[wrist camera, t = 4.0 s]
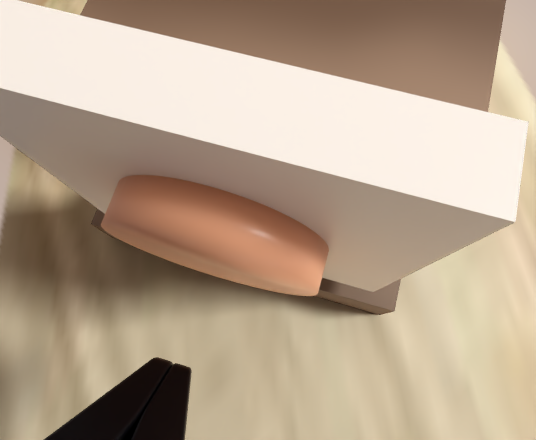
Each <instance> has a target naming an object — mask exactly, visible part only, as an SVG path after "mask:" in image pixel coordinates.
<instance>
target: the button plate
mask: <svg viewBox="0 0 536 440" xmlns="http://www.w3.org/2000/svg"><path fill="white" fill-rule="evenodd" d="M527 129H528V122H527V121H523V120H519V119H514V118H510V117H506V116H502V115H498V114H493V113H489V112H485V111H481V110H477V109H472V108H468V107H464V106H460V105H456V104H451V103H447V102H443V101H439V100H434V99H430V98H426V97H422V96H418V95H413V94H409V93H405V92H401V91H397V90H392V89H388V88H384V87H380V86H376V85H371V84H367V83H363V82H359V81H354V80H350V79H346V78H342V77H338V76H333V75H329V74H325V73H321V72H317V71H312V70H308V69H304V68H300V67H296V66H291V65H287V64H283V63H279V62H274V61H270V60H266V59H262V58H258V57H253V56H249V55H245V54H241V53H237V52H232V51H228V50H224V49H220V48H216V47H211V46H207V45H203V44H199V43H194V42H190V41H186V40H182V39H178V38H173V37H169V36H165V35H161V34H157V33H152V32H148V31H144V30H140V29H136V28H131V27H127V26H123V25H119V24H114V23H110V22H106V21H102V20H98V19H93V18H89V17H85V16H81V15H77V14H72V13H68V12H64V11H60V10H56V9H51V8H47V7H43V6H39V5H34V4H30V3H26V2H22V1H18V0H0V136H1V137H3V138H4V139H5V140H7V141H8V142H9V143H10V144H12V145H13V146H14V147H16V148H17V149H18V150H20V151H21V152H22V153H24V154H25V155H26V156H28V157H29V158H30V159H32V160H33V161H35V162H36V163H37V164H39V165H40V166H41V167H43V168H44V169H45V170H47V171H48V172H49V173H51V174H52V175H53V176H55V177H56V178H57V179H59V180H60V181H61V182H63V183H64V184H65V185H67V186H68V187H69V188H71V189H72V190H73V191H75V192H76V193H77V194H79V195H80V196H81V197H83V198H84V199H85V200H87V201H88V202H89V203H91V204H92V205H94V206H95V207H96V208H98V209H99V210H100V211H102V212H103V213H104V214H105V215H104V218H103V220H102V223H101V227H102V228H103V229H104V230H105V231H106V232H108V233H109V234H111V235H112V236H114V237H116V238H118V239H120V240H121V241H123V242H125V243H127V244H130V245H132V246H134V247H136V248H138V249H141V250H143V251H145V252H148V253H150V254H153V255H155V256H158V257H160V258H163V259H166V260H168V261H171V262H174V263H177V264H179V265H182V266H185V267H188V268H191V269H194V270H197V271H200V272H203V273H206V274H209V275H213V276H216V277H219V278H223V279H226V280H230V281H233V282H237V283H240V284H244V285H248V286H252V287H256V288H260V289H265V290H269V291H274V292H279V293H284V294H291V295H299V296H314V295H317V294H318V291H319V287H320V283H321V280H322V278H325V279H329V280H332V281H336V282H339V283H343V284H346V285H350V286H353V287H357V288H360V289H364V290H367V291H371V292H375V291H377V290H379V289H381V288H383V287H385V286H387V285H389V284H391V283H393V282H395V281H397V280H399V279H401V278H403V277H405V276H407V275H409V274H411V273H413V272H415V271H417V270H419V269H421V268H423V267H425V266H427V265H429V264H431V263H433V262H435V261H437V260H439V259H442V258H444V257H446V256H448V255H450V254H452V253H454V252H456V251H458V250H460V249H462V248H464V247H466V246H468V245H470V244H472V243H474V242H476V241H478V240H480V239H482V238H484V237H486V236H488V235H490V234H492V233H494V232H496V231H498V230H500V229H502V228H504V227H506V226H508V225H510V224H512V223H514V222H515V221H516V213H517V205H518V198H519V190H520V182H521V175H522V167H523V159H524V152H525V144H526V137H527Z"/></svg>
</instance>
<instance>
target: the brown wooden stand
mask: <svg viewBox="0 0 536 440" xmlns="http://www.w3.org/2000/svg"><path fill="white" fill-rule="evenodd" d="M505 3H506V0H88V1H87V3H86V5H85V7H84V9H83V11H82V13H81V16H85V17H89V18H93V19H98V20H102V21H106V22H110V23H114V24H119V25H123V26H127V27H131V28H136V29H140V30H144V31H148V32H152V33H157V34H161V35H165V36H169V37H173V38H178V39H182V40H186V41H190V42H194V43H199V44H203V45H207V46H211V47H216V48H220V49H224V50H228V51H232V52H237V53H241V54H245V55H249V56H253V57H258V58H262V59H266V60H270V61H274V62H279V63H283V64H287V65H291V66H296V67H300V68H304V69H308V70H312V71H317V72H321V73H325V74H329V75H333V76H338V77H342V78H346V79H350V80H354V81H359V82H363V83H367V84H371V85H376V86H380V87H384V88H388V89H392V90H397V91H401V92H405V93H409V94H413V95H418V96H422V97H426V98H430V99H434V100H439V101H443V102H447V103H451V104H456V105H460V106H464V107H468V108H472V109H477V110H481V111H485V112H488V107H489V101H490V95H491V89H492V83H493V77H494V70H495V64H496V58H497V52H498V46H499V40H500V33H501V27H502V21H503V15H504V9H505ZM104 215H105V214H104V213H103V212H102V211H100V210H99V209H97V211H96V213H95V216H94V218H93V220H92V223H91V224H92V225H93V226H95V227H97V228H98V229H100V230H101V231H103V232H105V233H106V234H108V235H109V236H111V237H113V238H116V237H114V236H112V235H111V234H109V233H108V232H106V231H105V230H104V229H103V228H102V227H101V223H102V220H103V218H104ZM116 239H118V238H116ZM400 280H401V279H399V280H397V281H395V282H393V283H391V284H389V285H387V286H385V287H383V288H381V289H379V290H377V291H375V292H371V291H367V290H364V289H360V288H357V287H353V286H350V285H346V284H343V283H339V282H336V281H332V280H329V279H325V278H322V280H321V283H320V287H319V291H318V294H317V295H314V296H316V297H320V298H323V299H327V300H330V301H334V302H337V303H341V304H344V305H347V306H351V307H354V308H358V309H361V310H365V311H368V312H372V313H375V314H379V315H381V314H385V313H389V312H393V311H394V310H395V305H396V300H397V295H398V290H399V285H400Z"/></svg>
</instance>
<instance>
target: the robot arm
mask: <svg viewBox="0 0 536 440" xmlns="http://www.w3.org/2000/svg"><path fill="white" fill-rule="evenodd" d="M190 381H191V368H190V367H187V366H184V365H180V364H176V363H175V364H173V363H172V362H171V361H168V360H165V359H161V358H158V357H156V358H153V359H151V360H150V361H149V362H147V363H146V364H145V365H143V366H142V367H141V368H139V369H138V370H137V371H135V372H134V373H133V374H131V375H130V376H129V377H127V378H126V379H125V380H123V381H122V382H121V383H119V384H118V385H117V386H115V387H114V388H113V389H111V390H110V391H108V392H107V393H106V394H104V395H103V396H102V397H100V398H99V399H98V400H96V401H95V402H94V403H92V404H91V405H90V406H88V407H87V408H86V409H84V410H83V411H82V412H80V413H79V414H78V415H76V416H75V417H74V418H72V419H71V420H70V421H68V422H67V423H66V424H64V425H63V426H62V427H60V428H59V429H57V430H56V431H55V432H53V433H52V434H51V435H49V436H48V437H47V438H45V439H44V440H185V431H186V421H187V411H188V401H189V391H190Z"/></svg>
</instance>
